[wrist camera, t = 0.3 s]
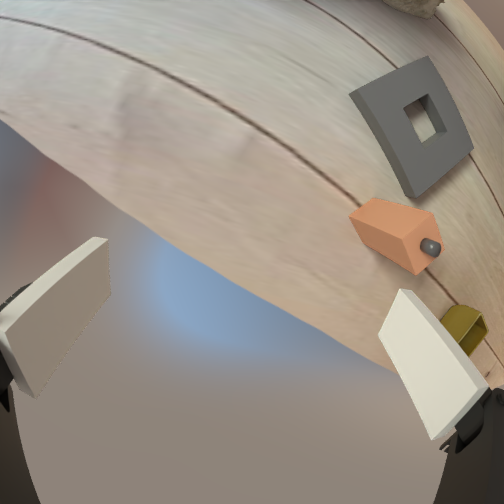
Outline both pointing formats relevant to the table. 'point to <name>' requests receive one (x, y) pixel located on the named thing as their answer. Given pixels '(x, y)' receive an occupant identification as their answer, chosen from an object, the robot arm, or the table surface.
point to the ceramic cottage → (416, 7)
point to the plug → (399, 233)
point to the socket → (402, 132)
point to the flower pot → (465, 327)
